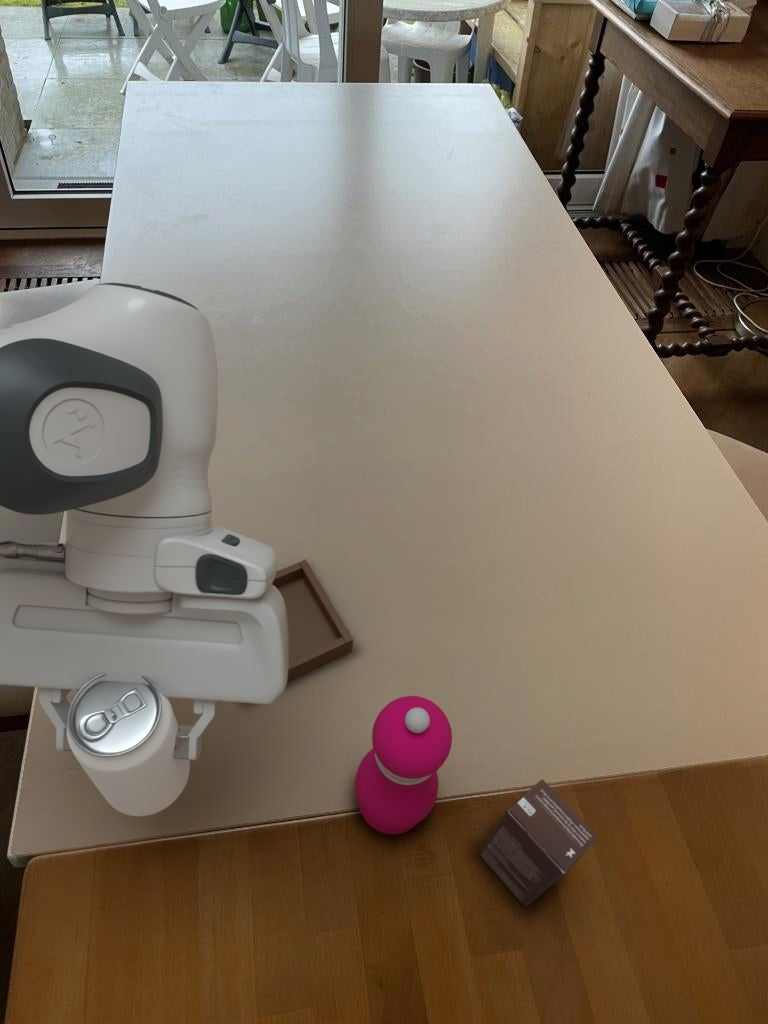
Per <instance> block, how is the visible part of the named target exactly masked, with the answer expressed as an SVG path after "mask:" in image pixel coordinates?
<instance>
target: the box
mask: <svg viewBox="0 0 768 1024" xmlns="http://www.w3.org/2000/svg"><path fill="white" fill-rule="evenodd" d="M597 839H598V835H596V834H595V833H594V832H593V830H592V829H591V828H590V827H589V826H588V825H587V824H586V823H585V822H584V821H583V820H582V818H580V817H579V816H578V815H577V814H576V812H575V811H574V810H573V809H572V808H571V807H570V806H569V805H568V804H567V803H566V801H564V800H563V799H562V798H561V796H559V794H557V793H556V791H555V790H554V789H553V788H552V787H551V786H550V785H549V784H548V783H547V782H546V781H545V780H544V779H543V778H541V779H540V780H539V781H538V782H537V783H535V784H534V785H533V786H532V787H531V788H530V789H528V790H527V792H525V793H524V794H522V796H521V797H520V798H518V800H517V801H515V802H514V803H513V804H511V806H510V807H508V809H507V810H506V812H505V813H504V814H503V816H502V818H501V819H500V820H499V822H498V823H497V825H496V826H495V828H494V829H493V831H492V832H491V833H490V835H489V836H488V838H486V840H485V842H484V843H483V844H482V845H481V846H480V848H479V850H478V853H477V854H478V855H479V857H480V858H481V859H482V860H483V862H485V864H486V865H487V866H488V867H489V868H490V870H491V871H492V872H493V873H494V874H495V876H497V878H498V879H499V880H500V881H501V882H502V884H503V885H504V886H505V887H506V888H507V889H508V890H509V892H510V893H511V894H512V895H513V896H514V898H516V900H517V901H518V902H519V903H520V904H521V906H522V907H523V908H526V907H528V906H529V905H530V904H531V903H532V902H533V901H534V900H535V899H537V898H538V897H539V896H541V895H542V894H543V893H544V892H545V891H546V890H547V889H548V888H550V887H551V886H552V885H553V884H554V883H556V882H557V881H558V880H559V879H560V878H561V877H564V875H566V873H568V871H569V870H570V869H571V868H572V867H573V866H574V865H575V864H576V863H577V862H578V860H579V859H580V858H581V857H583V855H584V854H585V852H586V851H588V849H589V848H590V847H591V846H592V845H593V844H594V843H595V842H596V841H597Z"/></svg>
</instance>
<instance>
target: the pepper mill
mask: <svg viewBox="0 0 768 1024" xmlns="http://www.w3.org/2000/svg"><path fill="white" fill-rule="evenodd" d="M450 723H451V722H450V721H449V718H448V717H447V715H446V714H445V712H444V711H443V709H442V708H441V707H440V706H439V705H437V704H436V703H435V702H433V701H432V700H430V699H428V698H426V697H423V696H419V695H405V696H401V697H398V698H396V699H394V700H392V701H390V702H388V703H387V704H386V705H385V706H384V707H382V709H381V710H380V711H379V713H378V714H377V716H376V718H375V721H374V723H373V727H372V731H371V742H372V748H371V749H370V750H369V751H368V752H366V754H365V755H364V756H363V758H362V759H361V761H360V763H359V765H358V767H357V771H356V773H355V779H354V790H355V796H356V800H357V803H358V804H357V805H358V809H359V811H360V814H361V816H362V818H363V819H364V821H365V822H366V823H367V824H368V825H369V826H370V827H371V828H372V829H374V830H376V831H377V832H380V833H382V834H387V835H400V834H404V833H406V832H409V831H410V830H412V829H413V828H415V827H416V825H418V824H419V823H420V822H421V821H423V820H424V819H426V817H427V816H428V815H429V814H430V813H431V811H432V809H433V808H434V806H435V803H436V801H437V797H438V792H439V777H438V772H437V771H439V769H440V768H441V767H442V766H443V765H444V764H445V762H446V760H447V759H448V757H449V756H450V752H451V749H452V744H453V743H452V742H453V730H452V727H451V724H450Z"/></svg>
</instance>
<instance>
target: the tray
mask: <svg viewBox="0 0 768 1024" xmlns="http://www.w3.org/2000/svg"><path fill="white" fill-rule="evenodd" d="M272 585H274V586H275V587H276V588H277V589H278V590H279V592H280V593H281V595H282V597H283V600H284V603H285V607H286V613H287V621H288V634H289V669H288V679H287V682H289V681H292V680H293V679H295V678H298V677H300V676H302V675H304V674H306V673H308V672H310V671H313V670H314V669H317V668H319V667H320V666H323V665H325V664H327V663H329V662H332V661H333V660H335V659H337V658H339V657H342V656H344V655H346V654H348V653H350V652H352V651H353V643H354V638H353V637H352V635H351V632H349V630H348V629H347V627H346V624H345V623H344V622H343V620H342V618H341V616H340V615H339V613H338V612H337V610H336V608H335V606H334V604H333V603H332V601H331V600H330V598H329V596H328V595H327V593H326V592H325V589H324V588H323V586H322V585H321V582H320V581H319V579H318V578H317V576H316V574H315V573H314V571H313V569H312V567H311V565H310V564H309V563H308V561H307V559H303V560H301V561H298V562H296V563H293V564H290V565H289V566H286V567H284V568H282V569H280V570H276V575H275V578H274V581H273V583H272Z"/></svg>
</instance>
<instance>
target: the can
mask: <svg viewBox="0 0 768 1024" xmlns="http://www.w3.org/2000/svg"><path fill="white" fill-rule="evenodd" d="M106 674H107V673H102V674H100V675H98V676H96V677H94V678H92V679H91V680H89V681H88V682H87V683H86V684H84V685H83V686H82V687H81V688H80V690H77V692H76V693H75V695H74V696H73V698H72V700H71V702H70V703H69V704H70V707H69V710H68V716H67V738H68V742H69V745H70V748H71V750H72V751H71V752H72V754H73V756H74V757H75V759H76V761H77V762H78V763H79V765H80V766H81V767H82V769H83V770H84V772H85V774H86V775H87V776H88V777H89V779H90V780H91V782H92V783H93V785H94V786H95V787H96V788H97V790H98V791H99V792H100V794H101V796H103V798H104V799H105V800H106V802H107V803H108V804H109V805H110V806H111V807H112V808H114V809H115V810H116V811H118V812H119V813H121V814H123V815H127V816H131V817H146V816H151V815H154V814H157V813H159V812H161V811H163V810H165V809H166V808H168V807H169V806H171V805H172V804H174V802H175V801H176V800H177V799H178V798H179V797H180V795H181V794H182V792H183V791H184V790H185V788H186V785H187V783H188V780H189V777H190V771H191V760H186V759H175V758H174V751H175V749H176V747H175V738H176V734H177V732H178V731H179V728H180V726H179V723H178V721H177V718H176V715H175V712H174V710H173V707H172V704H171V701H170V700H169V697H164V696H162V695H161V694H160V693H159V691H158V689H157V688H156V686H155V685H154V683H153V682H152V681H151V680H150V679H148V678H147V677H146V676H141V677H142V678H143V679H145V680H146V681H147V682H148V683H149V685H147V684H144V683H135V682H122V681H99V680H100V679H101V678H102V677H104V676H105V675H106Z"/></svg>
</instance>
